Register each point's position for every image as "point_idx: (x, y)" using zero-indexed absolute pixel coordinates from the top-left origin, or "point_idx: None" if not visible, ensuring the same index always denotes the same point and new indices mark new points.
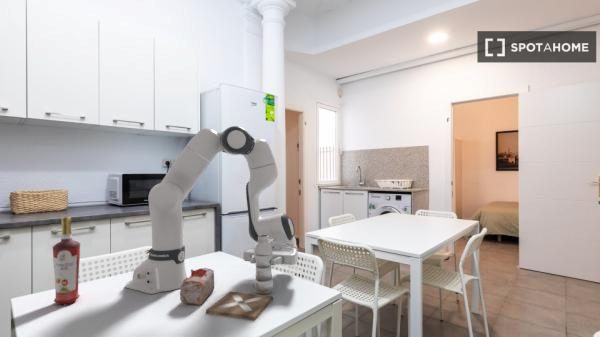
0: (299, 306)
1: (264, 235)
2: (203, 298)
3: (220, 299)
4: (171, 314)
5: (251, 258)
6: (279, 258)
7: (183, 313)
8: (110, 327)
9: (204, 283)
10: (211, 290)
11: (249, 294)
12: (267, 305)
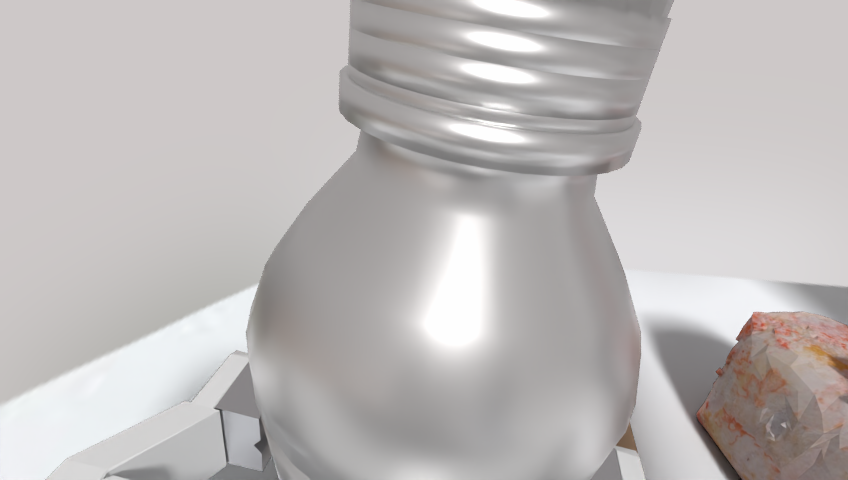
0: (128, 387)
1: None
2: (710, 410)
3: (627, 434)
4: (726, 347)
5: (624, 449)
6: (118, 437)
7: (690, 352)
8: (801, 295)
9: (762, 362)
10: None
11: None
12: None
